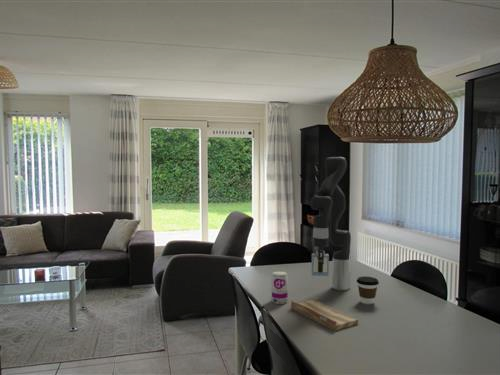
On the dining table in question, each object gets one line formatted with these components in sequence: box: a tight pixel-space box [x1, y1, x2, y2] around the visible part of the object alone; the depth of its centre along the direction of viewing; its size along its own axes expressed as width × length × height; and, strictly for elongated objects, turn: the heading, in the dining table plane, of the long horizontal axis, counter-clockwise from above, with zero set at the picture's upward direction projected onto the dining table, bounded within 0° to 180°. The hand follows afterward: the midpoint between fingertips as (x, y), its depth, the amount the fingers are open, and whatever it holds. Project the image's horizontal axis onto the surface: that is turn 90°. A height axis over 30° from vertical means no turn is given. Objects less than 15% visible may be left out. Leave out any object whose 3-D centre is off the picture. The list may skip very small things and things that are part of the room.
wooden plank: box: [290, 299, 359, 332], centre depth 184 cm, size 14×30×4 cm, turn 32°
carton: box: [310, 252, 330, 277], centre depth 194 cm, size 8×5×10 cm, turn 83°
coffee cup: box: [356, 276, 380, 305], centre depth 202 cm, size 11×11×12 cm
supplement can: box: [271, 270, 289, 305], centre depth 202 cm, size 8×8×15 cm
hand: (319, 270), depth 195 cm, fingers closed on carton, 5 cm apart
